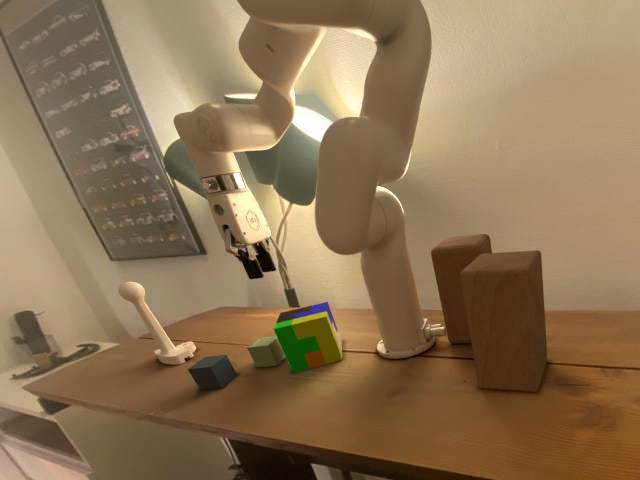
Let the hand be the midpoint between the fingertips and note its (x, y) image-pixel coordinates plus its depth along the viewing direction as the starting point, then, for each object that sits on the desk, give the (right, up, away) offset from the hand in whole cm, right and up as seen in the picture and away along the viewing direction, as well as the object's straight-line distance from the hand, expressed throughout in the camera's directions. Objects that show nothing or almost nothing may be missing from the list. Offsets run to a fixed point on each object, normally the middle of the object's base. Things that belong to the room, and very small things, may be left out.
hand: (263, 273), depth 83 cm
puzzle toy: (+13, -19, -1) cm, 23 cm away
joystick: (-27, -18, +11) cm, 35 cm away
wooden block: (+55, -22, -19) cm, 62 cm away
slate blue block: (-6, -24, -5) cm, 25 cm away
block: (+48, -14, -2) cm, 50 cm away
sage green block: (+2, -19, +1) cm, 20 cm away
